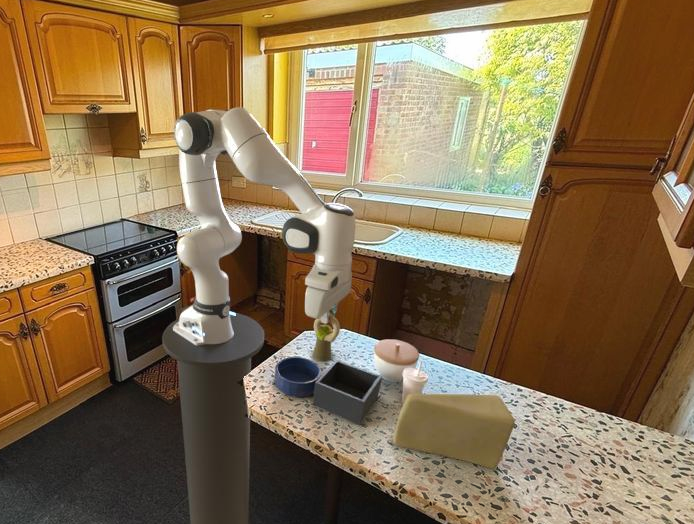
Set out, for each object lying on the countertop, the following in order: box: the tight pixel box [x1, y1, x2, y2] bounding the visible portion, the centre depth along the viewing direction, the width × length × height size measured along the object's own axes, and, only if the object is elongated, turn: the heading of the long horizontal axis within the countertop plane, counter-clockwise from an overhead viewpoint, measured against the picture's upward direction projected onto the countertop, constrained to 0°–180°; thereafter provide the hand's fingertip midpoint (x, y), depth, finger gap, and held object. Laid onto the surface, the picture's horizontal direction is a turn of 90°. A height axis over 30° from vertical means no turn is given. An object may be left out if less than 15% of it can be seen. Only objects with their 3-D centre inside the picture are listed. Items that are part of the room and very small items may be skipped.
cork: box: [312, 324, 334, 362], centre depth 130 cm, size 6×6×11 cm
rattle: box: [313, 304, 341, 343], centre depth 106 cm, size 8×8×12 cm
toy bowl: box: [274, 356, 322, 398], centre depth 118 cm, size 13×13×5 cm
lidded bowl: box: [373, 338, 420, 383], centre depth 120 cm, size 13×13×11 cm
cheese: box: [392, 393, 516, 470], centre depth 93 cm, size 22×10×15 cm, turn 80°
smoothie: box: [401, 360, 429, 405], centre depth 108 cm, size 6×6×14 cm
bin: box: [312, 359, 383, 426], centre depth 110 cm, size 14×14×8 cm
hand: (327, 319), depth 105 cm, fingers closed on rattle
